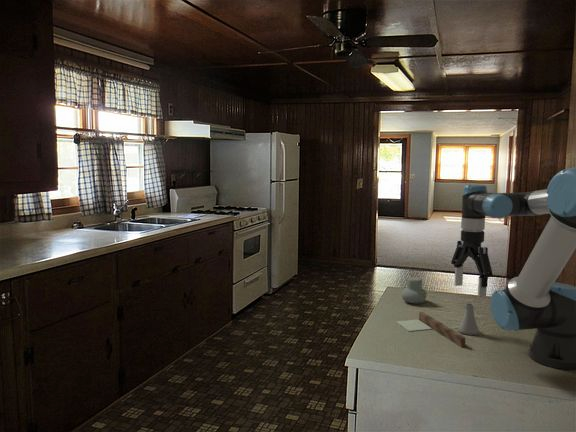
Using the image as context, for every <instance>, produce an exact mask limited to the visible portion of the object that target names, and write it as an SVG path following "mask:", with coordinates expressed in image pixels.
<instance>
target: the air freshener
mask: <svg viewBox="0 0 576 432" xmlns="http://www.w3.org/2000/svg"><path fill="white" fill-rule="evenodd" d="M427 295H428V294H427V291H426V289H424V288H423V280H422V278H421V277H416V276H415V277H413V276H412V277H407V286H406V287H405V288H403V290H402V292H401V297H402V298H401V299H402V300H403V301H405V302H406V303H408V304H409V303H410V304H414V305H415V304H416V305H417V304H418V305H419V304H422V303H424V302H425V301H426V298H427Z"/></svg>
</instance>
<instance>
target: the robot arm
mask: <svg viewBox="0 0 576 432" xmlns="http://www.w3.org/2000/svg"><path fill="white" fill-rule="evenodd" d="M461 196H462V197H461V198H462V201H461V205H462V206H461V223H460V224H461V225H460V228H461V231H460V240H457V244H456V248H455V251H454V254H453V256H452V259H451V262H450V263H451V265H453V267H454V286H455V287H457V286H459V287H460V286H463V282H464V281H463V280H464V275H463V274H464V264H465V262H466V261H467V259H468V258H471V259H472V261H474V263H475V266H476V269H477V271H478V274H479V277H478V281H477V283H478V284H477V286H478V287H477V297H478V298H479V297H487V288H488V283H489V282H488V279H489V278H491V277H493V276H494V274H493V269H492V265H491V262H490V257H489V251H488V249H489V248H488V247H487V246H484V247H482V243H483V242H485V231H484V230H485V229H486V228H485V226H486V224H485V223H486V217H489V218H491V219H492V218H493V219H504V218H506V217H520V216H522V217H528V216H529V217H530V216H531V217H534V216H535V217H537V216H542V215H547V214H549V215H550V217H549V220H548V221H547V223H546V225H545V227H544V229H543V230H542V232H541V234H540V236H539V238H538V239H537V241H536V243H535V245H534V247H533V249H532V251H531V252H530V254H529V256H528V258H527V260H526V262H524V266H523V267H522V269H521V271H520V273H519V274H518V276H514V277H513V278H511V279H509V281H508V283H507V284H506V285H505V289H498V290H494V292H492V294H491V297H490V302H489V303H490V311H491V315H492V317H493V320H494V321H495V323H496V324H497V325H498V326H499V327H500V328H501V329H503V331H504V330H505V331H515V332H516V331H517V332H518V331H524V330H533V329H536V331H535V333H534V336H533V339H532V342H531V344H529V348H528V356H529V357H530V359H531V360H533V361H535V362H536V363H538V364H540V365H544V366H546V367H551V368H556V369H562V370H563V369H564V370H576V286H574V285H572V284H571V285H570V284H566V283H561V282H558V281H557V279H558V278H559V276H560V275H561V273H562V271H563V270H564V268H565V266H566V265H567V263H568V261H569V260H570V259H571V256H573V253H574V252H575V251H576V166H575V167H568V168H565V169H562V170H560V171H558V172H557V173H556V174H555V175H554V176H553V177H552V179H550V181H549V183H548V186H547V188H545V189H540V190H539V189H538V190H534V191H526V192H488V189H487V185H484V184H466V185H464V186H463V190H462V195H461Z"/></svg>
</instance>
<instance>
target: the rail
mask: <svg viewBox="0 0 576 432" xmlns="http://www.w3.org/2000/svg"><path fill="white" fill-rule="evenodd" d="M418 314H419V315H418V316H419V317H418V320H420V321H421V322H423V323H424V324H426V325H427V326H429V327H430V328H432V329H433V331H435V332H437V333H438V334H440V335H441V336H443V337H444V338H446V339H448V340H449V341H451V342H453V343H454V344H455V345H457V346H458V347H460V348H464V347H466V337H465V336H463V334H461V333H460V332H458V331H457V332H456V331H455V330H453V329H452V328H450V327H449V326H447V325H445V324H444V323H442V322H440V321H439V320H437V319H435V318H434V317H432V316H430V315H428V314H427V313H425V312H423V311H421V312H420V311H419V312H418ZM432 329H431V330H432Z"/></svg>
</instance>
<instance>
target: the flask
mask: <svg viewBox="0 0 576 432" xmlns="http://www.w3.org/2000/svg"><path fill="white" fill-rule="evenodd" d="M464 306H465V310H464V313H463V314H464V315H463V317H462V320H461V323H460V325H459V326H458V329H457V332H458V333H459V334H460V335H467V336H476V335H479V334H480V329H479V326H478V324H477V320H476V318H475V311H474V310H475V309H474V308H475V304H474V303H470V302H466V303H464Z"/></svg>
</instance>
